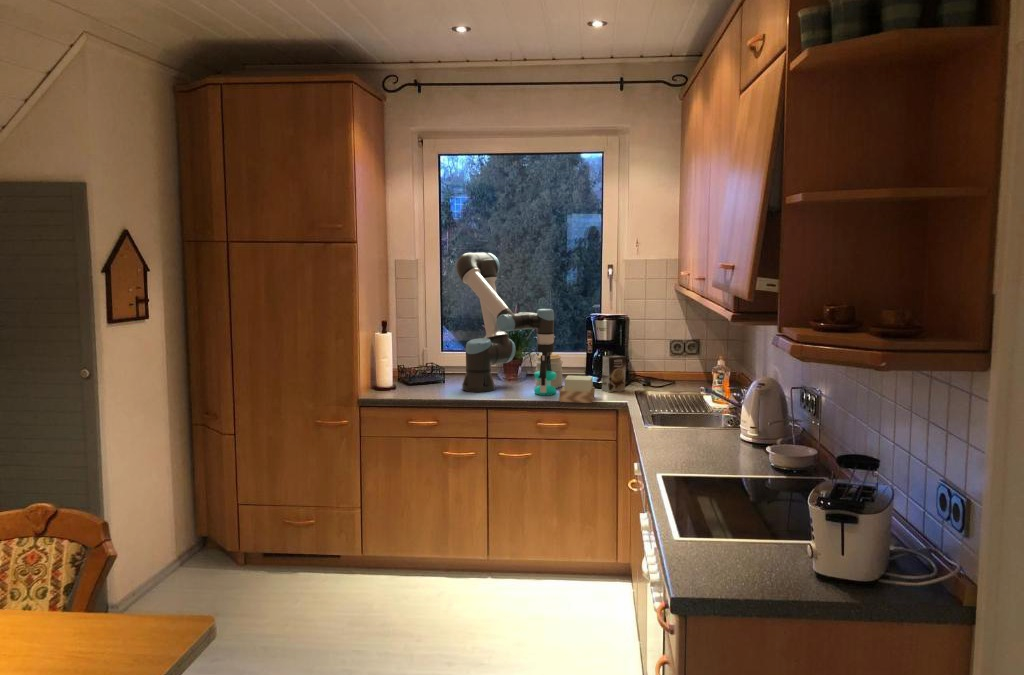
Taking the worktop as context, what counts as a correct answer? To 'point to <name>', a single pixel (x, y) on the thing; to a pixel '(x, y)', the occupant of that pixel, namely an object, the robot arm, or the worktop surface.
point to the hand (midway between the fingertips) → (545, 389)
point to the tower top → (579, 383)
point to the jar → (555, 366)
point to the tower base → (576, 396)
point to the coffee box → (613, 373)
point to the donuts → (550, 389)
